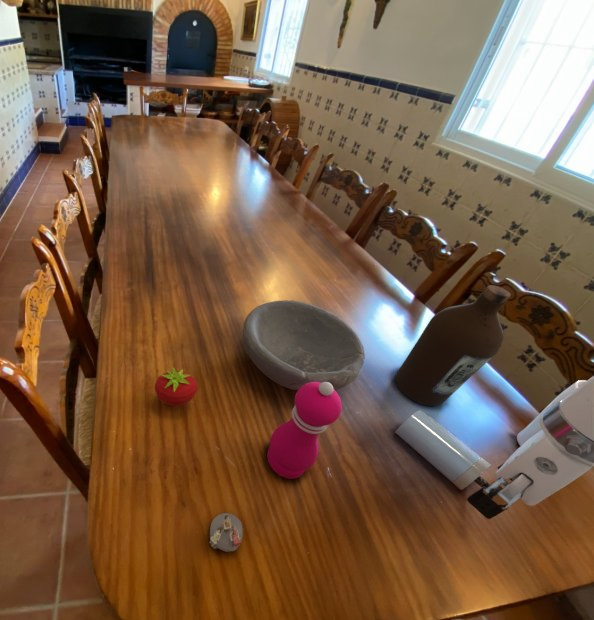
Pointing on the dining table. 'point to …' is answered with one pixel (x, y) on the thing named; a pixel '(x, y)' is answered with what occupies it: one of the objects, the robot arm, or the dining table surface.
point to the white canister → (444, 451)
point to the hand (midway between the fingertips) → (493, 491)
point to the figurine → (226, 532)
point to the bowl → (302, 345)
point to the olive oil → (453, 348)
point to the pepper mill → (303, 429)
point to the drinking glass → (535, 424)
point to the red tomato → (175, 387)
